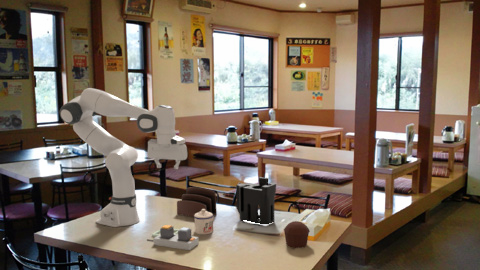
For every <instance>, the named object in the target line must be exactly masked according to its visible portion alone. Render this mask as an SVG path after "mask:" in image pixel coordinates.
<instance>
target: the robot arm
mask: <svg viewBox="0 0 480 270" xmlns="http://www.w3.org/2000/svg"><path fill="white" fill-rule="evenodd" d="M97 114H99V115H101V116H104V117H110V118H116V117H117V118H118V117H128V118H132V119H135V120H136V127H137V129H138V130H139V131H140V132H142V133H147V134H149V133H154V132H155V133H156V138H155V139H154V138H151V139H149V140H148V141H147V157H148V159H154V163H155V165H156V168H157V169H161V168H162V163H160V160H170V161H171V160H174V161H175V165H173V169H174V170H179V166H180V163H181V161H185V160H187V159H188V147H187V145H186V139H185V138H184V137H181V136H179V135H177V134H176V115H175V114H176V113H175V110H174V108H173V107H172V106H170V105H164V104H159V105H157V106H156V107H155V108H153V109H151V110H149V109H146V108H143V107H141V106H138V105H135V104H133V103H130V102H128V101H126V100H123V99H122V98H119V97H117V96H116V95H113V94H111V93H108V92H107V91H104V90H102V89H97V88H92V87H88V88H85V89H83V91H82V92H81V94H80V95H78V96H75V97H74V98H72V99H71V100H69V101H68V102H66V103H64V104H63V105H62V106H61V107H60V109H59V116H60V119H61V120H62V121H63V122H64V123H65V124H68V125H72V128H73V129H72V130H73V131H74V132H75V133H76V135H78V137H79V138H80V139H81V140H82V141H83V142H85V143H86V144H87V145H88V146H89V147H91V149H93V150H94V151H95V152H97V154H98V153H99V154H102V155H103V156H105V157H106V158H105V161H104V162H105V166H106V168H107V169H108V171H109V175H110V178H111V185H112V186H111V187H112V195H111V196H110V197H108V200H109V201H110V203H108V204H107V205H106V206H105V207H104V208H102V209H101V212H100V217H99V218H97V219H96V220H95V223H96V224H100V225H104V226H108V227H112V228H119V227H123V226H124V227H125V226H131V225H135V224H137V223H139V222H140V217H139V214H138V209H137V194H136V188H135V178H134V177H133V175H132V174H133V173H132V170H131V166H133V165H134V164H135V163H136V162H137V160H138V156H139V154H138V150H137V149H136V148H135V147H134V146H130V145H128V144H126V143H125V142H124V141H122V140H120V139H118V138H117V137H115V136H114V135H112V134H110V133H109V132H108V131H107V130H105V129H104V128H103V127H102V126H101V125H100V124H98V123H97V122H96V121H95V120H94V118H93V117H94V116H95V117H96V115H97Z"/></svg>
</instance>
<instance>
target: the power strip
mask: <svg viewBox="0 0 480 270" xmlns="http://www.w3.org/2000/svg"><path fill="white" fill-rule="evenodd" d="M191 237H192V238H191V239H190V241H188V242H184V241H178V234H174V237H172V238H171V239H163V238H161V235H160V234H159V235H158V236H156V237H154V238H153V237H152V238H153V239H150V238H149V239H146V241H147V242H153V246H159V247H166V248H172V249H178V250H184V251H191V250H193V249H194V248H195V247H196V246H198V245H199V244H200V243H199V241H200V240H199V236H193V235H191Z"/></svg>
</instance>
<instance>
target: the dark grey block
mask: <svg viewBox="0 0 480 270" xmlns="http://www.w3.org/2000/svg"><path fill="white" fill-rule="evenodd" d="M191 236H192V229H191V228H190V227H184V226H183V227H181V228H180V229H179V231H178V241H184V242H188V241H190V239H191V238H192V237H191Z"/></svg>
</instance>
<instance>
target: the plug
mask: <svg viewBox="0 0 480 270" xmlns="http://www.w3.org/2000/svg"><path fill="white" fill-rule="evenodd" d="M174 229H175V228H174V226H172V225H171V224H170V225H169V224H165V225H163V226H161V227H160V229H159V230H160V233H159V235H161V238H163V239H171V238H172V237H174V233H175V232H174Z"/></svg>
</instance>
